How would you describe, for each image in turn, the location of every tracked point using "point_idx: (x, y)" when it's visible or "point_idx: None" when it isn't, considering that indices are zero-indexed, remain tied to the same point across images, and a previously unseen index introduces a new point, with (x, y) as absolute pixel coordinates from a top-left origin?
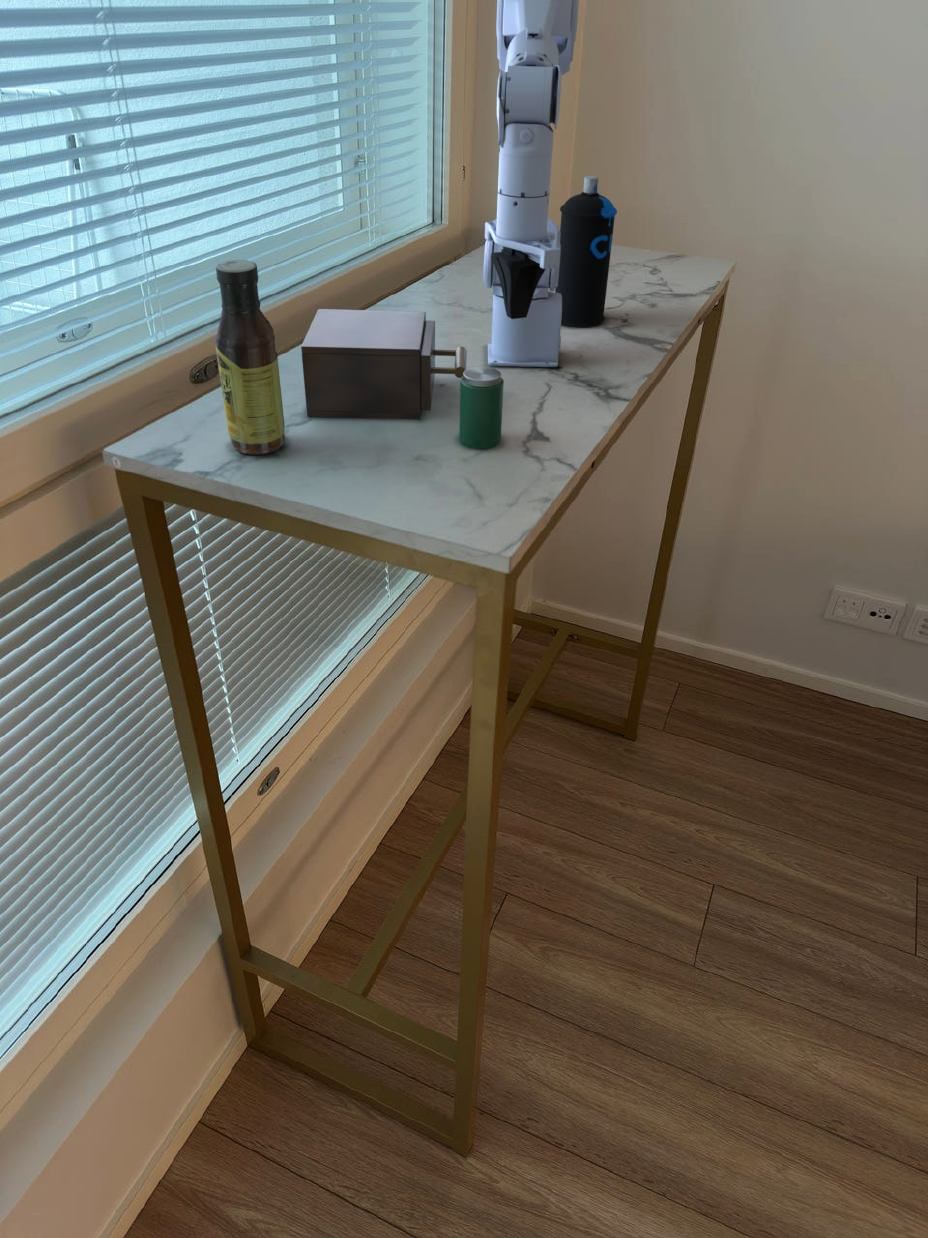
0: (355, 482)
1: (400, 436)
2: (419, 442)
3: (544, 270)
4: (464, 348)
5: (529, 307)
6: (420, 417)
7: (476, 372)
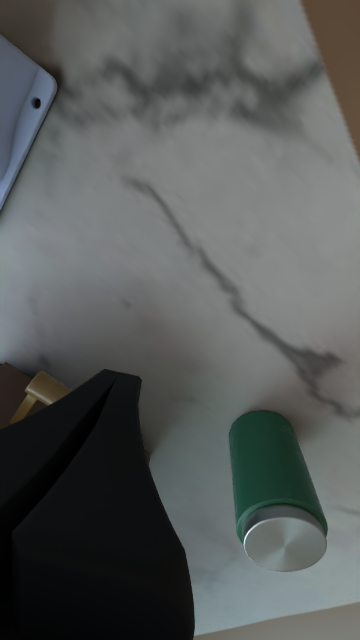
0: (254, 580)
1: (181, 498)
2: (212, 492)
3: (171, 525)
4: (36, 384)
5: (136, 388)
6: (149, 459)
7: (272, 549)
